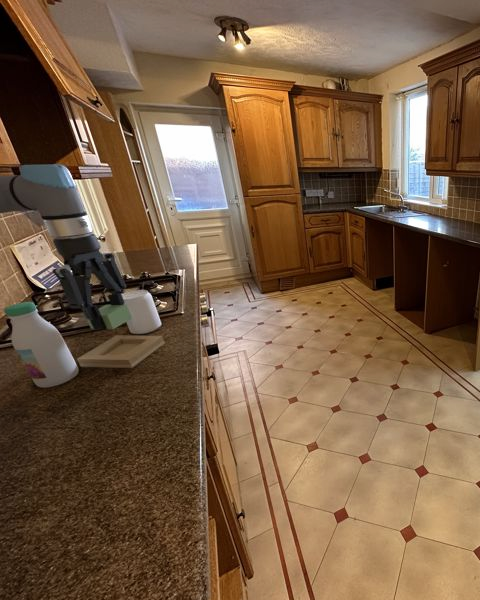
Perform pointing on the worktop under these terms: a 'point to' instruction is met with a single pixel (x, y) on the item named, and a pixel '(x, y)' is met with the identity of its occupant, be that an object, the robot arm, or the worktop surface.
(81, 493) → the worktop surface
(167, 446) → the worktop surface
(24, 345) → the milk bottle
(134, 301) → the white cylindrical container
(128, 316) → the green block
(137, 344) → the base pad
